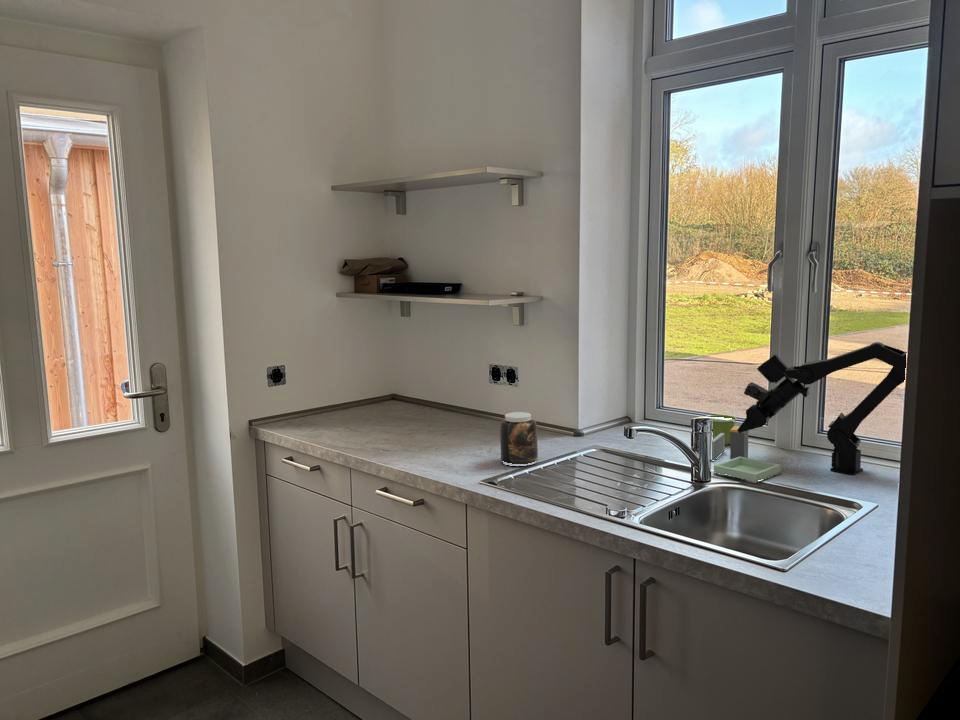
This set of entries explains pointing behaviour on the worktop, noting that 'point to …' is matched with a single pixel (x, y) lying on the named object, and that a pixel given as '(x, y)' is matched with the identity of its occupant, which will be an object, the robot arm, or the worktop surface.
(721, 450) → the panel
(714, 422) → the plant pot
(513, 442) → the jar
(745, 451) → the grey yellow-capped canister
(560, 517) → the worktop surface
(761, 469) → the tray
